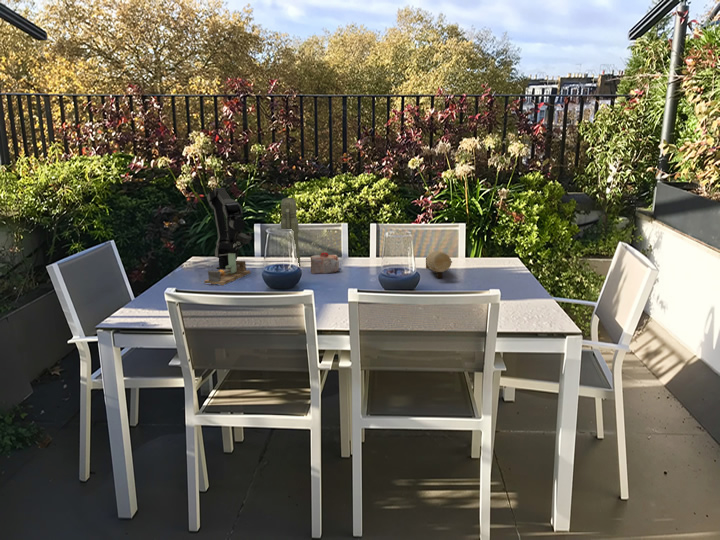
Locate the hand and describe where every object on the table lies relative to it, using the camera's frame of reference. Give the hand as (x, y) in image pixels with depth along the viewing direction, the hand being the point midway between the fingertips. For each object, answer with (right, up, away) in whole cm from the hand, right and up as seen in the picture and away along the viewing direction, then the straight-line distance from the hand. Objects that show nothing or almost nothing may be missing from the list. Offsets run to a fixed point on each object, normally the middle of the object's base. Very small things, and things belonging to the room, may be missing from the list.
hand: (235, 259), depth 293 cm
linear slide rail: (-2, -9, -5) cm, 10 cm away
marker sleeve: (-1, -6, -3) cm, 7 cm away
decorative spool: (+97, -8, -8) cm, 98 cm away
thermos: (+25, -3, +17) cm, 31 cm away
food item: (+43, -6, +3) cm, 44 cm away
